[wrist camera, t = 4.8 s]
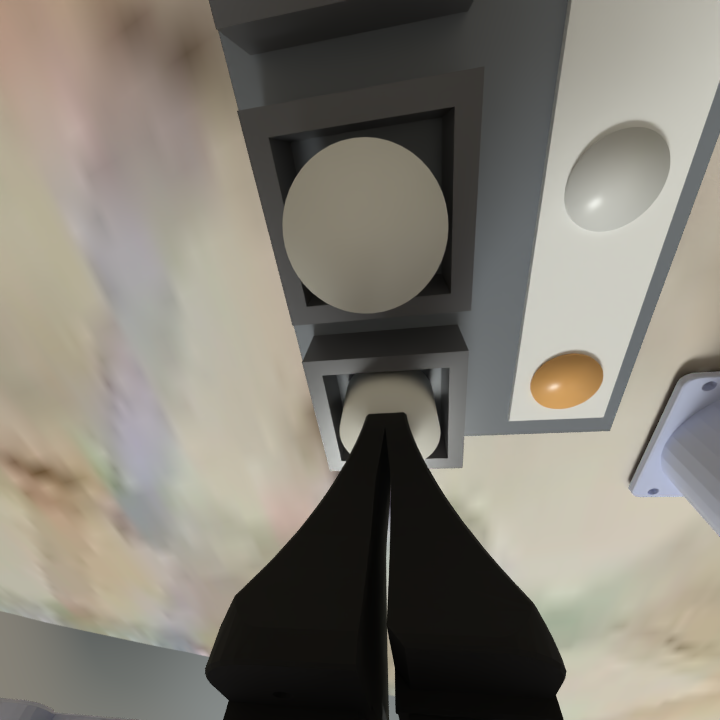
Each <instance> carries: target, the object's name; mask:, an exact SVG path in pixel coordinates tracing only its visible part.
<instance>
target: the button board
mask: <svg viewBox="0 0 720 720" xmlns="http://www.w3.org/2000/svg"><path fill="white" fill-rule="evenodd" d="M209 3H210V7H211V11H212V15H213V19H214V22H215V26H216V29H217V30H218V31H219V35H220V39H221V43H222V47H223V51H224V55H225V59H226V63H227V67H228V71H229V74H230V78H231V82H232V86H233V90H234V94H235V98H236V102H237V106H238V110H239V111H237V112H238V116H239V119H240V123H241V127H242V131H243V135H244V139H245V143H246V147H247V151H248V154H249V158H250V162H251V166H252V170H253V174H254V178H255V182H256V185H257V189H258V193H259V197H260V201H261V205H262V209H263V213H264V216H265V220H266V224H267V228H268V232H269V236H270V240H271V244H272V248H273V251H274V255H275V259H276V263H277V267H278V271H279V275H280V279H281V282H282V286H283V290H284V294H285V298H286V302H287V306H288V310H289V314H290V317H291V321H292V325H293V326H294V329H295V333H296V336H297V340H298V344H299V348H300V352H301V356H302V360H303V361H302V364H303V368H304V372H305V376H306V379H307V383H308V387H309V391H310V395H311V399H312V403H313V407H314V411H315V414H316V418H317V422H318V426H319V430H320V434H321V438H322V442H323V445H324V449H325V453H326V457H327V461H328V465H329V469H330V471H341V469H342V468H343V466H344V464H345V462H346V461H347V459H348V457H349V455H350V453H349V452H348V451H347V450H346V448H345V447H344V445H343V443H342V441H341V438H340V423H341V418H342V412H343V407H344V402H345V396H346V391H347V386H348V384H349V381H350V380H351V378H352V377H353V375H354V374H355V373H371V372H387V371H403V370H420V371H422V372H423V373H424V374H425V375H426V377H427V378H428V379H429V381H430V383H431V385H432V389H433V394H434V399H435V404H436V409H437V415H438V420H439V425H440V440H439V443H438V445H437V447H436V449H435V450H434V452H433V453H432V454H431V455H430V456H428V457H427V458H426V459H424V461H425V463H426V465H427V467H428V468H429V469H439V468H462V467H463V449H464V436H480V435H508V434H536V433H564V432H592V431H610V429H611V426H612V423H613V421H614V418H615V415H616V413H617V410H618V407H619V404H620V402H621V399H622V396H623V394H624V391H625V388H626V386H627V383H628V380H629V377H630V375H631V372H632V369H633V367H634V364H635V361H636V358H637V356H638V353H639V350H640V348H641V345H642V342H643V339H644V337H645V334H646V331H647V329H648V326H649V323H650V320H651V318H652V315H653V312H654V310H655V307H656V304H657V302H658V299H659V296H660V293H661V291H662V288H663V285H664V283H665V280H666V277H667V274H668V272H669V269H670V266H671V264H672V261H673V258H674V255H675V253H676V250H677V247H678V245H679V242H680V239H681V236H682V234H683V231H684V228H685V226H686V223H687V220H688V218H689V215H690V212H691V209H692V207H693V204H694V201H695V199H696V196H697V193H698V190H699V188H700V185H701V182H702V180H703V177H704V174H705V171H706V169H707V166H708V163H709V161H710V158H711V155H712V152H713V150H714V147H715V144H716V142H717V139H718V136H719V134H720V0H209ZM359 137H371V138H379V139H384V140H388V141H391V142H393V143H396V144H398V145H400V146H402V147H404V148H406V149H407V150H409V151H410V152H412V153H413V154H414V155H416V156H417V157H418V158H419V159H420V160H421V161H422V162H423V163H424V164H425V165H426V166H427V167H428V168H429V170H430V171H431V173H432V174H433V176H434V177H435V179H436V180H437V182H438V184H439V186H440V188H441V191H442V193H443V196H444V199H445V203H446V208H447V213H448V239H447V244H446V249H445V252H444V255H443V258H442V261H441V263H440V265H439V267H438V269H437V271H436V273H435V274H434V276H433V278H432V279H431V280H430V282H429V283H428V284H427V285H426V286H425V288H424V289H423V290H422V291H421V292H419V293H418V294H417V295H416V296H415V297H413V298H412V299H411V300H409V301H408V302H406V303H404V304H402V305H401V306H398V307H396V308H393V309H391V310H387V311H384V312H378V313H365V314H363V313H353V312H349V311H344V310H341V309H338V308H336V307H333V306H331V305H329V304H327V303H326V302H324V301H323V300H321V299H320V298H318V297H317V296H316V295H314V294H313V293H312V292H311V291H310V290H309V289H308V288H307V287H306V286H305V285H304V284H303V282H302V281H301V280H300V278H299V277H298V276H297V274H296V272H295V270H294V269H293V267H292V265H291V262H290V260H289V258H288V255H287V252H286V248H285V244H284V238H283V225H282V223H283V211H284V206H285V201H286V198H287V195H288V192H289V189H290V187H291V185H292V183H293V181H294V179H295V178H296V176H297V175H298V173H299V172H300V170H301V169H302V168H303V166H304V165H305V164H306V163H307V162H308V161H309V160H310V159H311V158H312V157H313V156H315V155H316V154H317V153H318V152H320V151H321V150H323V149H325V148H326V147H328V146H330V145H332V144H334V143H337V142H339V141H342V140H346V139H351V138H359Z"/></svg>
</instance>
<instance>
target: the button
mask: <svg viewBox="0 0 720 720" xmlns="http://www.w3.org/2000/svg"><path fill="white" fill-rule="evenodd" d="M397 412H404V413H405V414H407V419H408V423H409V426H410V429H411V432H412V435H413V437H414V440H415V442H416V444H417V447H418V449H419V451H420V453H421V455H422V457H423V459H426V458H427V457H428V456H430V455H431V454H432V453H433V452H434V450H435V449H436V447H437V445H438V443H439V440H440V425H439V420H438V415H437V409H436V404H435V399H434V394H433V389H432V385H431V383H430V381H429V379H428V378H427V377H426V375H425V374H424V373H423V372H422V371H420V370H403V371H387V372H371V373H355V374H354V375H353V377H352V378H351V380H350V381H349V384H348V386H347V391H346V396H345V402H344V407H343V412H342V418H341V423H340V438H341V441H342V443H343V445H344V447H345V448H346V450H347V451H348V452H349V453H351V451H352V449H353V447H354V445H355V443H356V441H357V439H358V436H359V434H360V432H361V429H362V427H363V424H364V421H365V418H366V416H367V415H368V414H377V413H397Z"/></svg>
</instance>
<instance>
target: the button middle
mask: <svg viewBox="0 0 720 720" xmlns="http://www.w3.org/2000/svg"><path fill="white" fill-rule="evenodd" d="M282 225H283V238H284V244H285V248H286V252H287V255H288V258H289V260H290V262H291V265H292V267H293V269H294V270H295V272H296V274H297V276H298V277H299V278H300V280H301V281H302V282H303V284H304V285H305V286H306V287H307V288H308V289H309V290H310V291H311V292H312V293H313V294H314V295H316V296H317V297H318V298H320V299H321V300H323V301H324V302H326V303H327V304H329V305H331V306H333V307H336V308H338V309H341V310H344V311H349V312H353V313H363V314H365V313H378V312H384V311H387V310H391V309H393V308H396V307H398V306H401V305H402V304H404V303H406V302H408V301H409V300H411V299H412V298H413V297H415V296H416V295H417V294H418V293H419V292H421V291H422V290H423V289H424V288H425V286H426V285H427V284H428V283H429V282H430V280H431V279H432V278H433V276H434V274H435V273H436V271H437V269H438V267H439V265H440V263H441V261H442V258H443V255H444V252H445V249H446V244H447V239H448V213H447V208H446V203H445V199H444V196H443V193H442V191H441V188H440V186H439V184H438V182H437V180H436V179H435V177H434V176H433V174H432V173H431V171H430V170H429V168H428V167H427V166H426V165H425V164H424V163H423V162H422V161H421V160H420V159H419V158H418V157H417V156H416V155H414V154H413V153H412V152H410V151H409V150H407V149H406V148H404V147H402V146H400V145H398V144H396V143H393V142H391V141H388V140H384V139H379V138H371V137H359V138H351V139H346V140H342V141H339V142H337V143H334V144H332V145H330V146H328V147H326V148H325V149H323V150H321V151H320V152H318V153H317V154H316V155H315V156H313V157H312V158H311V159H310V160H309V161H308V162H307V163H306V164H305V165H304V166H303V168H302V169H301V170H300V172H299V173H298V175H297V176H296V178H295V179H294V181H293V183H292V185H291V187H290V189H289V192H288V195H287V198H286V201H285V206H284V211H283V223H282Z"/></svg>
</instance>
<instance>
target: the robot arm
mask: <svg viewBox="0 0 720 720" xmlns="http://www.w3.org/2000/svg"><path fill="white" fill-rule="evenodd" d="M628 489H629V490H630V491H631V493H632V494H633V495H634V496H637V497H685V498H686V499H687V500H688V502H689V503H690V504H691V505H692V506H693V507H694V508H695V509H696V511H697V512H698V513H699V514H700V515H701V516H702V517H703V519H704V520H705V521H706V522H707V523H708V524H709V525H710V526H711V528H712V529H713V530H714V531H715V532H716V533H717V534H718V536H719V537H720V371H716V372H698V373H690V374H687V375H685V376H683V377H682V378H680V379H679V381H678V382H677V384H676V386H675V388H674V390H673V392H672V395H671V397H670V399H669V401H668V403H667V405H666V407H665V410H664V412H663V414H662V416H661V418H660V420H659V423H658V425H657V427H656V429H655V431H654V433H653V435H652V438H651V440H650V442H649V444H648V446H647V448H646V450H645V453H644V455H643V457H642V459H641V461H640V463H639V465H638V468H637V470H636V472H635V474H634V476H633V478H632V480H631V483H630V485H629V488H628ZM390 491H391V523H390V560H389V586H388V610H387V598H386V546H387V531H388V518H389V505H390ZM387 629H388V634H389V640H390V645H391V650H392V655H393V660H394V665H395V705H396V714H398V715H399V720H563V716H562V713H561V710H560V707H559V704H558V700H557V697H556V694H557V692H558V690H559V689H560V687H561V685H562V683H563V682H564V679H565V676H566V669H565V666H564V663H563V660H562V658H561V655H560V653H559V651H558V648H557V646H556V644H555V642H554V640H553V637H552V635H551V633H550V632H549V630H548V628H547V626H546V624H545V622H544V620H543V619H542V617H541V615H540V613H539V611H538V610H537V608H536V606H535V605H534V603H533V602H532V601H531V600H530V599H529V598H528V597H527V596H526V594H525V593H524V592H523V591H522V590H521V589H520V588H519V587H518V586H517V585H516V584H515V583H514V582H513V581H512V580H511V578H510V577H509V576H508V575H507V574H506V573H505V572H504V571H503V570H502V569H501V567H500V566H499V565H498V564H497V563H496V562H495V560H494V559H493V558H492V557H491V556H490V555H489V554H488V552H487V551H486V550H485V549H484V548H483V546H482V545H481V544H480V542H479V541H478V540H477V539H476V537H475V536H474V535H473V534H472V532H471V531H470V530H469V529H468V527H467V526H466V525H465V524H464V522H463V521H462V520H461V518H460V517H459V515H458V514H457V513H456V511H455V510H454V508H453V507H452V506H451V504H450V503H449V501H448V500H447V498H446V497H445V495H444V494H443V492H442V490H441V489H440V487H439V486H438V484H437V482H436V481H435V479H434V477H433V475H432V474H431V472H430V470H429V468H428V467H427V465H426V463H425V461H424V459H423V457H422V455H421V453H420V451H419V449H418V447H417V444H416V442H415V440H414V437H413V435H412V432H411V429H410V426H409V423H408V419H407V414H405V413H404V412H397V413H377V414H368V415H367V416H366V418H365V421H364V424H363V427H362V429H361V432H360V434H359V436H358V439H357V441H356V443H355V445H354V447H353V449H352V451H351V453H350V455H349V457H348V459H347V461H346V462H345V464H344V466H343V468H342V469H341V471H340V473H339V474H338V476H337V478H336V479H335V481H334V483H333V484H332V486H331V487H330V489H329V490H328V492H327V493H326V495H325V496H324V498H323V499H322V500H321V502H320V503H319V505H318V506H317V507H316V509H315V510H314V511H313V513H312V514H311V515H310V516H309V518H308V519H307V520H306V522H305V523H304V524H303V525H302V527H301V528H300V529H299V530H298V531H297V533H296V534H295V535H294V536H293V537H292V538H291V539H290V540H289V541H288V543H287V544H286V545H285V546H284V547H283V548H282V549H281V550H280V551H279V553H278V554H277V555H276V556H275V557H274V558H273V559H272V560H271V561H270V562H269V563H268V564H267V565H266V566H265V567H264V568H263V569H262V570H261V571H260V572H259V573H258V574H257V575H256V576H255V577H254V578H253V579H252V580H251V581H250V582H249V583H248V584H247V585H246V586H245V587H244V588H243V589H242V590H241V591H239V592H238V593H237V594H236V595H235V597H234V599H233V601H232V603H231V605H230V607H229V609H228V611H227V614H226V616H225V618H224V620H223V622H222V624H221V627H220V629H219V632H218V635H217V638H216V640H215V643H214V646H213V649H212V651H211V654H210V657H209V660H208V662H207V665H206V668H205V674H206V677H207V679H208V680H209V682H210V683H211V684H212V685H213V686H214V687H215V688H216V689H217V690H218V691H220V692H221V694H223V695H224V696H225V697H226V698H227V699H228V700H229V702H228V705H227V709H226V712H225V716H224V719H223V720H389V706H388V705H389V704H388V703H389V701H388V658H387ZM0 720H135V719H125V718H113V717H101V716H89V715H78V714H66V713H55V712H54V710H53V709H51V708H50V707H48V706H45V705H43V704H40V703H37V702H33V701H27V700H18V699H6V698H0ZM136 720H137V719H136Z"/></svg>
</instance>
